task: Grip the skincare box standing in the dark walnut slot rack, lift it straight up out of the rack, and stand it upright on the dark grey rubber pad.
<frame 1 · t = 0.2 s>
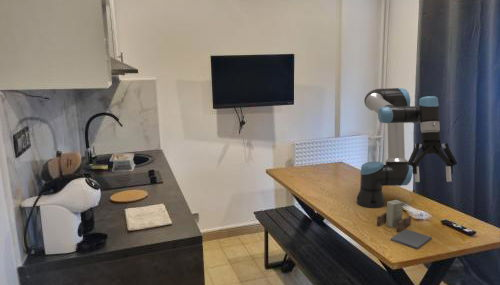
hand: (433, 181, 162), 27 cm above the table, tool tilted 15°, fingers open, 13 cm apart
skincare box: (393, 225, 184), on the table
slate pad: (411, 239, 169), on the table
slot rack: (393, 225, 184), on the table
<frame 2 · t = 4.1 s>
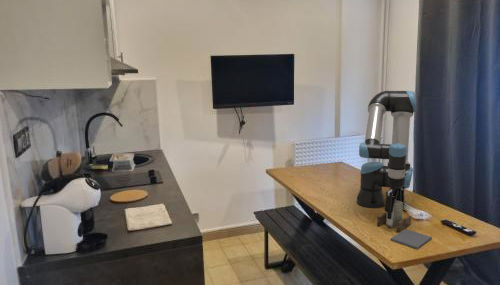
hand: (393, 222, 184), 2 cm above the table, tool pointing down, fingers closed on skincare box, 7 cm apart
skincare box: (393, 225, 184), on the table, touching gripper
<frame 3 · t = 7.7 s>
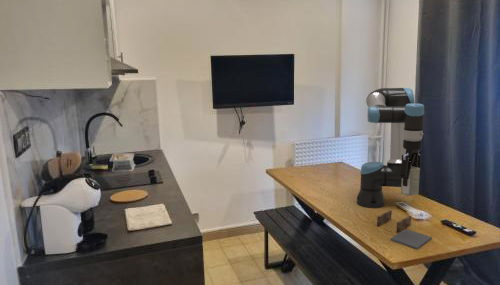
hand: (409, 190, 168), 22 cm above the table, tool pointing down, fingers closed on skincare box, 7 cm apart
skincare box: (409, 194, 168), point 20 cm above the table, touching gripper
when the fingers open (4 cm above the table, at t = 11.1 s): skincare box drops 1 cm, resting on slate pad.
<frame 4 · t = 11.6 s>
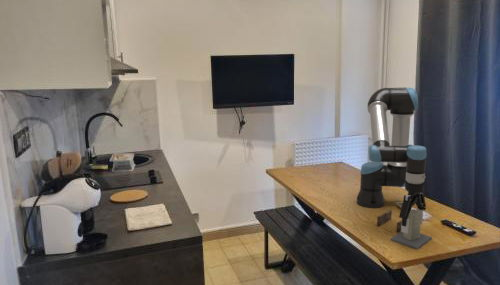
hand: (411, 227, 168), 6 cm above the table, tool pointing down, fingers open, 13 cm apart
skincare box: (411, 237, 169), point 1 cm above the table, touching slate pad
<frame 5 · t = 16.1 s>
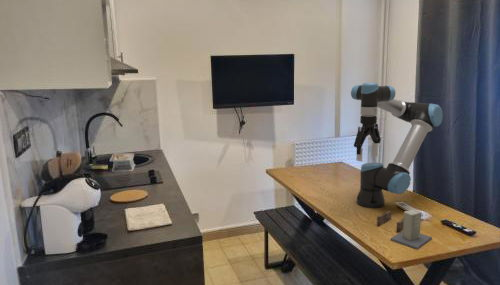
hand: (367, 158, 187), 32 cm above the table, tool pointing down, fingers open, 13 cm apart
nothing on the table moved.
at the end: skincare box inside the target area on the slate pad (0.1 cm from its centre), point 0.8 cm above the slate pad's base; skincare box tilted 0°; the gripper is holding nothing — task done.
